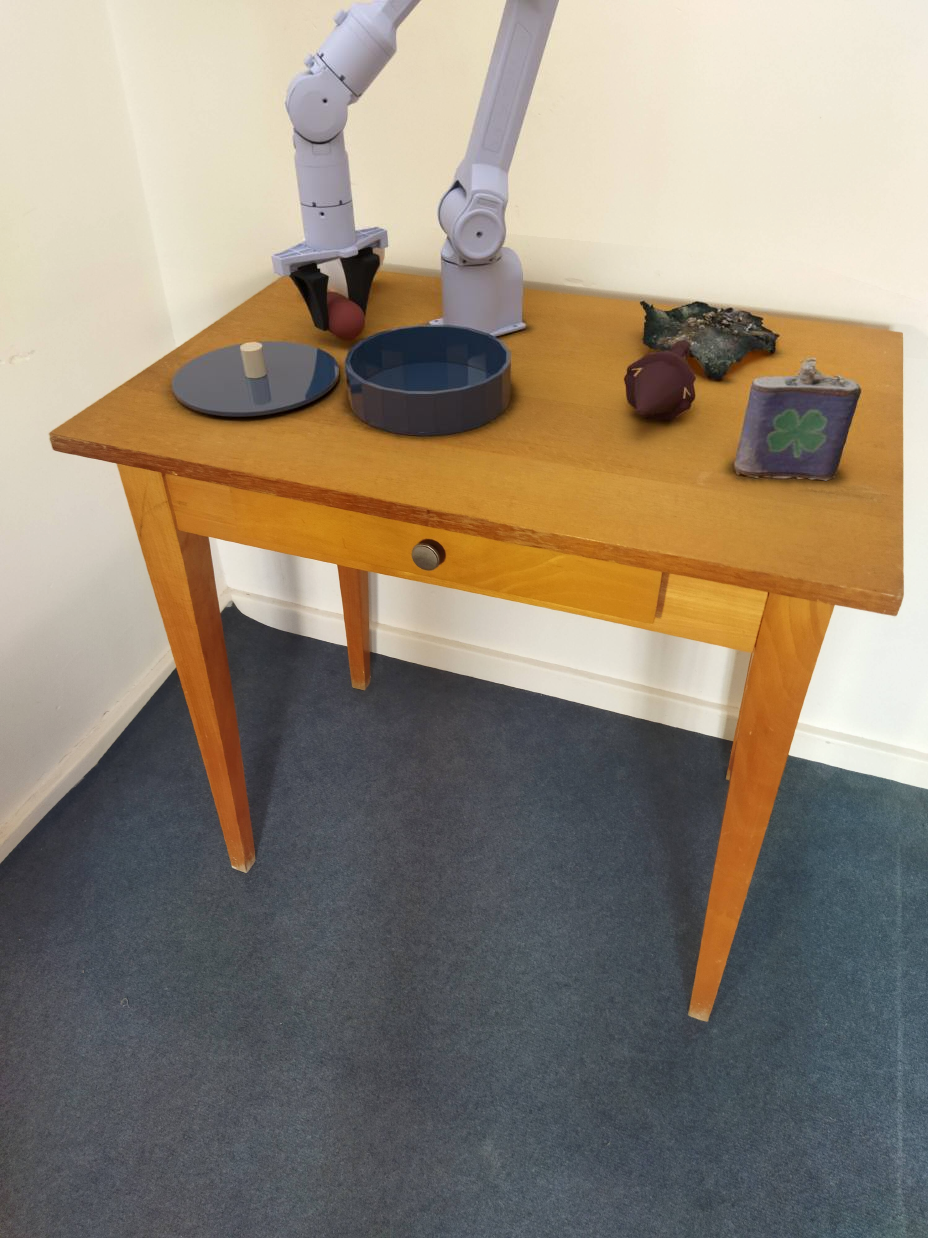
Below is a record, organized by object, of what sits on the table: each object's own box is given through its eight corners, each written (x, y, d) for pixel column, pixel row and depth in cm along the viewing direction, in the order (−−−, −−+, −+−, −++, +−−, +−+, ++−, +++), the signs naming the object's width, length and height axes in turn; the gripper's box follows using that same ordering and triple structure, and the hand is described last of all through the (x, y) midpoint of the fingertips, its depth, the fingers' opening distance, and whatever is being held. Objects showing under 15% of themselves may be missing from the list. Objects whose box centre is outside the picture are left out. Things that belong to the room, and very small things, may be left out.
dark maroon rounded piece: (691, 394, 80) (724, 347, 91) (618, 362, 81) (658, 318, 92) (661, 459, 84) (696, 405, 96) (592, 427, 86) (634, 378, 97)
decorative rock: (678, 274, 111) (800, 285, 104) (673, 323, 114) (791, 337, 107) (619, 314, 97) (755, 330, 91) (616, 369, 101) (747, 387, 94)
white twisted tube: (371, 273, 125) (365, 205, 119) (403, 300, 116) (398, 229, 111) (294, 286, 121) (284, 217, 115) (321, 315, 113) (312, 243, 107)
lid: (298, 337, 107) (293, 302, 105) (368, 392, 96) (365, 354, 93) (151, 374, 100) (142, 337, 97) (208, 438, 88) (199, 399, 86)
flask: (734, 477, 81) (758, 366, 74) (731, 461, 83) (753, 352, 76) (838, 482, 80) (872, 370, 73) (831, 465, 82) (863, 355, 75)
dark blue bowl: (454, 351, 104) (453, 312, 101) (542, 406, 92) (544, 364, 90) (322, 388, 97) (317, 348, 94) (400, 452, 85) (397, 409, 83)
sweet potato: (342, 319, 109) (338, 283, 107) (373, 340, 104) (370, 303, 101) (310, 327, 108) (305, 291, 105) (340, 349, 102) (335, 311, 100)
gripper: (289, 221, 90) (307, 349, 99) (400, 193, 97) (408, 314, 106) (254, 207, 94) (274, 331, 103) (363, 182, 102) (373, 299, 110)
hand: (340, 322), depth 105 cm, fingers closed on sweet potato, 5 cm apart
